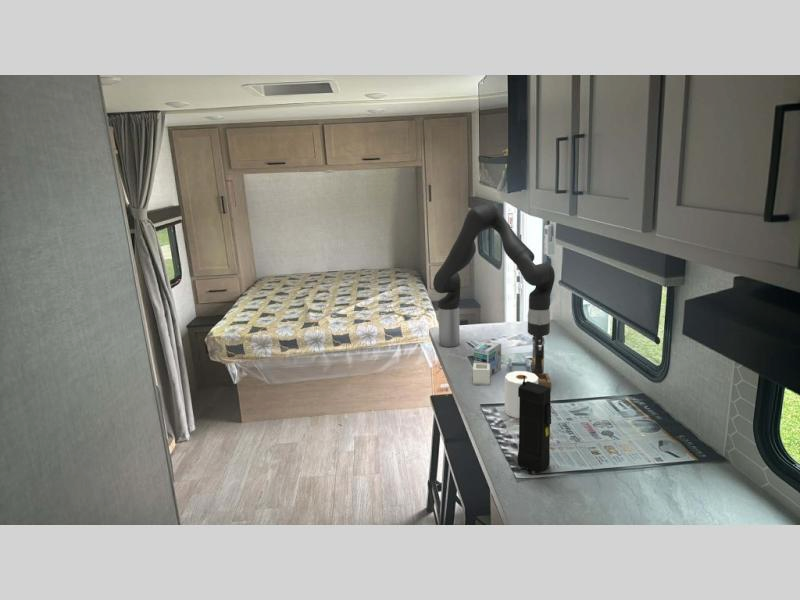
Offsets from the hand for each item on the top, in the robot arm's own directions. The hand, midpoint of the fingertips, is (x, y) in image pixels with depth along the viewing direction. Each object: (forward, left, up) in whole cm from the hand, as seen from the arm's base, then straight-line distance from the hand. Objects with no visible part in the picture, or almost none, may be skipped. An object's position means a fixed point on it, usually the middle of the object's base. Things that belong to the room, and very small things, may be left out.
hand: (537, 365), depth 186 cm
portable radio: (+53, -5, -7) cm, 54 cm away
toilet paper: (+22, -7, -7) cm, 24 cm away
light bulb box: (-11, -18, -7) cm, 22 cm away
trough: (0, 0, -7) cm, 7 cm away
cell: (0, 0, -2) cm, 2 cm away
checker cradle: (-11, -5, -7) cm, 14 cm away
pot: (-1, -20, -7) cm, 21 cm away
